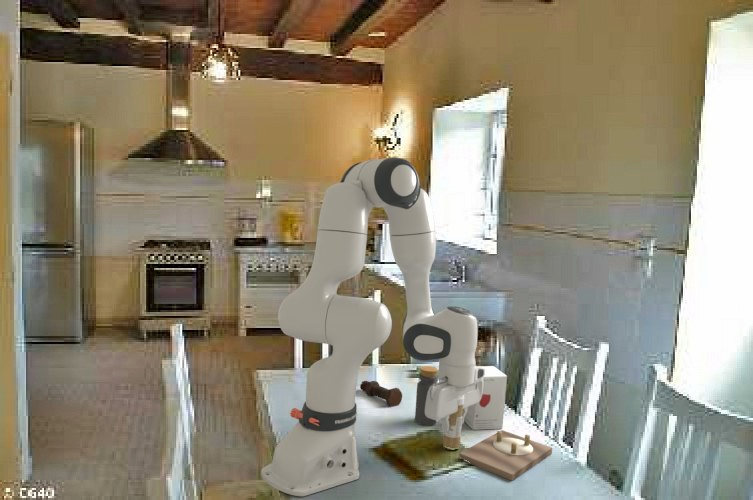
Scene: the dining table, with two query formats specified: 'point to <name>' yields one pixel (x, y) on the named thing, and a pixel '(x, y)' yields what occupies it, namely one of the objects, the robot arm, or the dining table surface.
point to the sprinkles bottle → (454, 427)
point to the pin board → (506, 454)
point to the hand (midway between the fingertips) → (452, 427)
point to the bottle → (424, 394)
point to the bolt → (382, 392)
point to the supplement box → (489, 402)
